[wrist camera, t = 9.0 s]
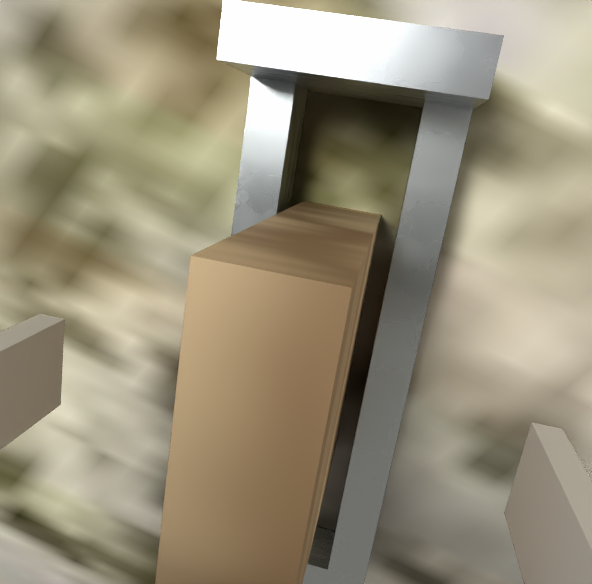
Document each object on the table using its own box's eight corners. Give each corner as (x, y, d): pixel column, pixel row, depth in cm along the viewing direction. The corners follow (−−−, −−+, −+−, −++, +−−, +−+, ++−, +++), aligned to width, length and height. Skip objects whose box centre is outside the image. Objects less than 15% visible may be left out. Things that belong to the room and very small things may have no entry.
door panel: (267, 430, 24) (145, 676, 13) (303, 200, 22) (190, 255, 10) (335, 446, 24) (270, 715, 13) (381, 214, 21) (352, 287, 10)
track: (208, 526, 26) (153, 631, 20) (274, 41, 21) (223, -2, 15) (362, 568, 25) (349, 691, 19) (475, 69, 20) (503, 35, 14)
